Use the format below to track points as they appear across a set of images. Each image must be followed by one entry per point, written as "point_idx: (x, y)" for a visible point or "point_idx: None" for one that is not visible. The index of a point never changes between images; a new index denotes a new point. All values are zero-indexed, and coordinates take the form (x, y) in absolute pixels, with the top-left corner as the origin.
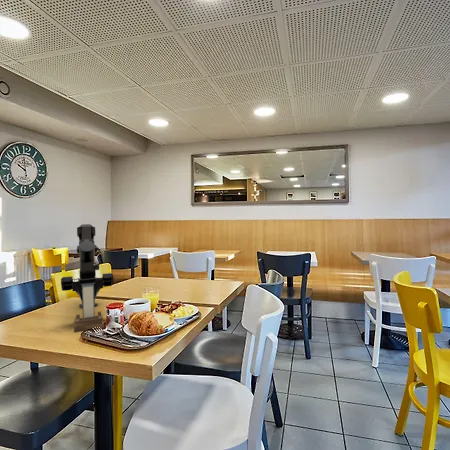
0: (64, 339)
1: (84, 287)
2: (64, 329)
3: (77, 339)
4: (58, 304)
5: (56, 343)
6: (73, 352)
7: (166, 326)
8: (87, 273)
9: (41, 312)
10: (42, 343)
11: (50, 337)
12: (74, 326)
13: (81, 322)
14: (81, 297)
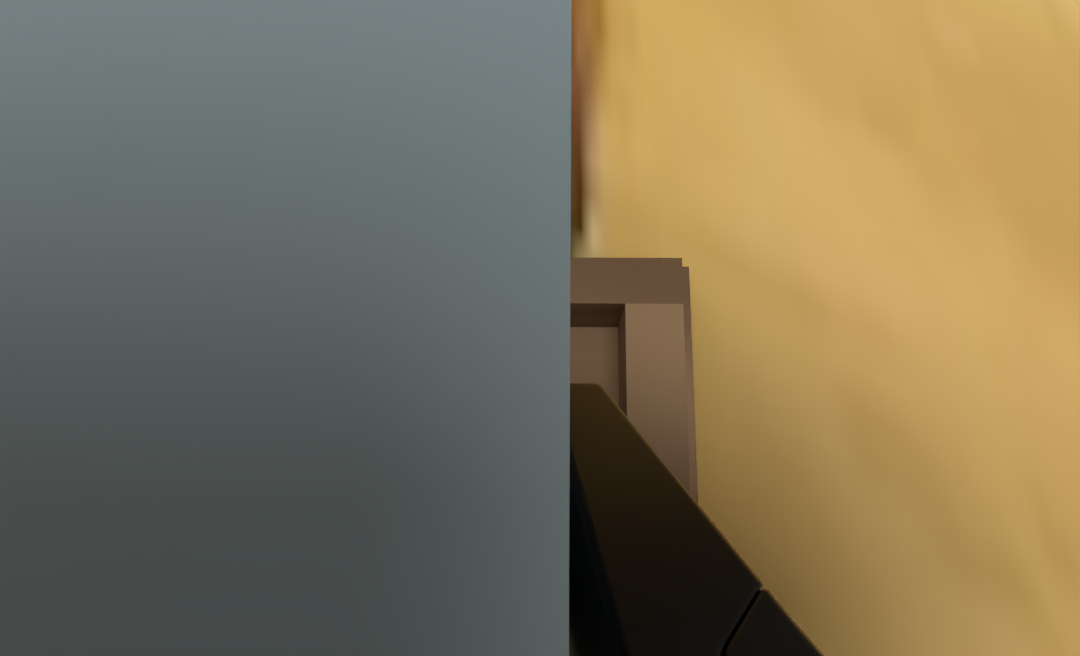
0: (771, 99)
1: (408, 19)
2: (830, 526)
3: (624, 32)
4: None
5: (842, 13)
6: None
7: None
8: None
9: None
10: (1004, 81)
11: (960, 252)
12: (688, 348)
13: (587, 265)
14: (601, 420)
